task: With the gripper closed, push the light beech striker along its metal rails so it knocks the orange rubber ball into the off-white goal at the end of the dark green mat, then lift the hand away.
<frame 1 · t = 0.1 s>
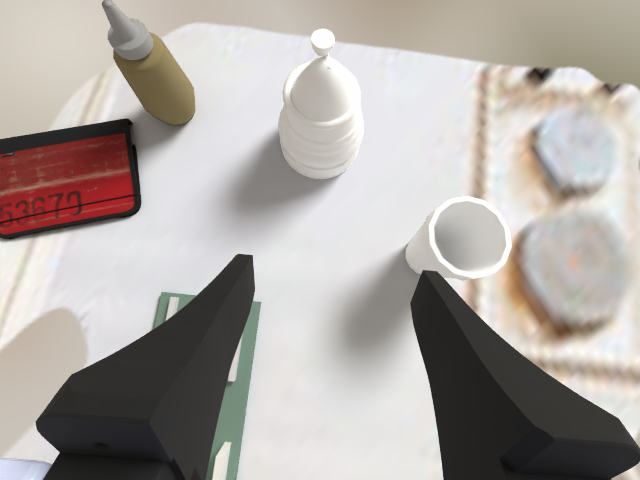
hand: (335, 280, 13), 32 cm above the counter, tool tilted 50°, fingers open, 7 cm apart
squeeze bottle: (178, 111, 50), on the counter
pitch mat: (196, 390, 41), on the counter
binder: (72, 181, 47), on the counter
honey pot: (319, 143, 50), on the counter
goal: (183, 465, 39), resting on pitch mat
foam cup: (424, 255, 46), on the counter
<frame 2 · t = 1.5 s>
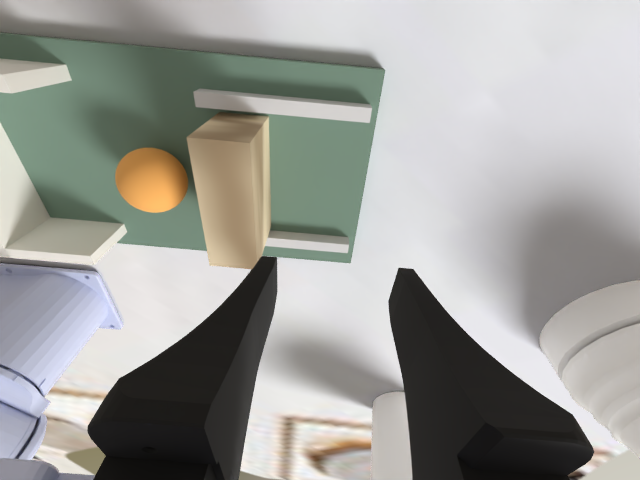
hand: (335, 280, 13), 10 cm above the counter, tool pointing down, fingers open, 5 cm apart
pitch mat: (187, 165, 21), on the counter
honey pot: (610, 325, 30), on the counter
goal: (58, 153, 21), resting on pitch mat
ball: (153, 180, 19), point 3 cm above the counter, touching pitch mat
foam cup: (396, 402, 40), on the counter
striker: (238, 192, 19), point 3 cm above the counter, slide at 0.0 cm, touching pitch mat
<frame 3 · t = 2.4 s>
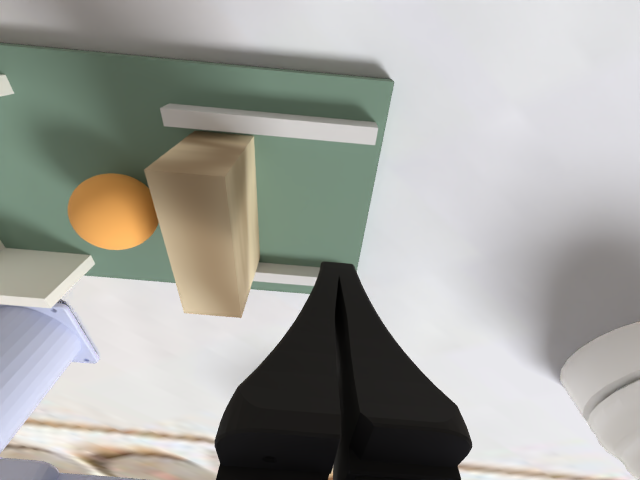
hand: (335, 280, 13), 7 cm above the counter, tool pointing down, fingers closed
pitch mat: (160, 189, 18), on the counter
honey pot: (639, 360, 27), on the counter
goal: (10, 176, 18), resting on pitch mat
ball: (117, 212, 16), point 3 cm above the counter, touching pitch mat
striker: (218, 226, 16), point 3 cm above the counter, slide at 0.0 cm, touching pitch mat
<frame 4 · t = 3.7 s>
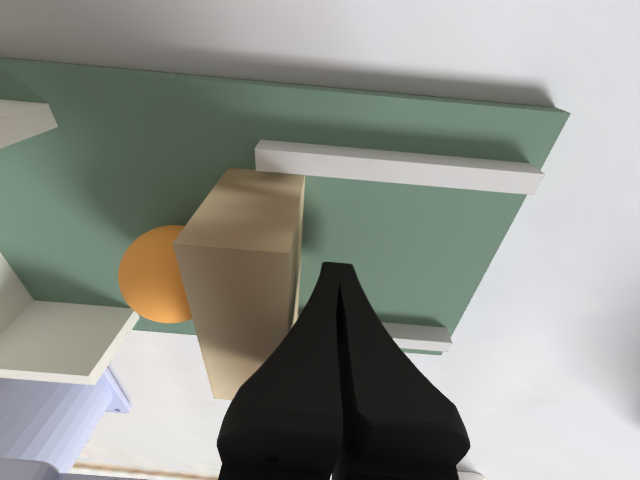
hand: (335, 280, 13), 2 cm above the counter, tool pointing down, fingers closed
pitch mat: (227, 236, 15), on the counter
goal: (43, 221, 15), resting on pitch mat
ball: (176, 273, 12), point 3 cm above the counter, tilted 7°, touching pitch mat
foam cup: (456, 479, 33), on the counter
striker: (258, 289, 12), point 3 cm above the counter, slide at 2.3 cm, touching gripper, pitch mat
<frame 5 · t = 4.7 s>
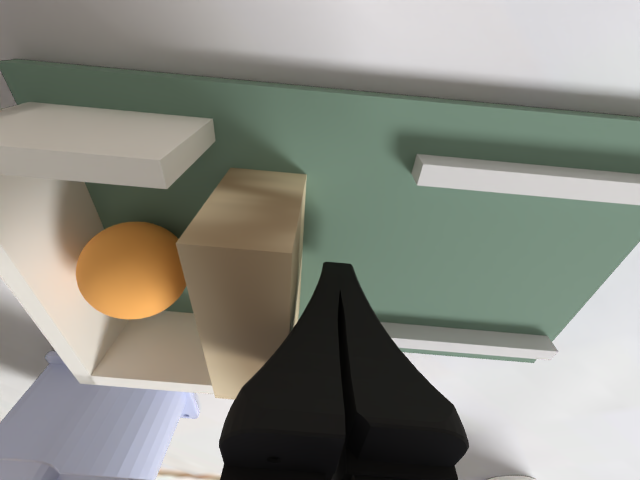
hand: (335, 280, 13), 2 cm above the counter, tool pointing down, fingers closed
pitch mat: (345, 247, 15), on the counter
goal: (162, 231, 15), resting on pitch mat
ball: (137, 269, 12), point 3 cm above the counter, tilted 141°, touching pitch mat
striker: (259, 288, 12), point 3 cm above the counter, slide at 8.0 cm, touching gripper, pitch mat
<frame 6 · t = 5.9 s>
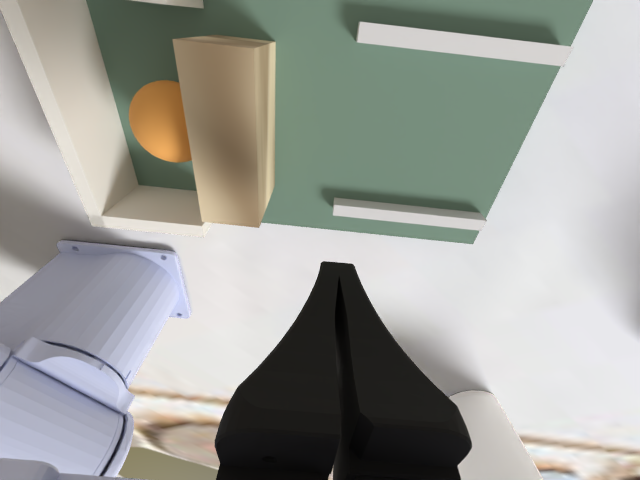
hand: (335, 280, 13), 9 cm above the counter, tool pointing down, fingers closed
pitch mat: (310, 123, 18), on the counter
goal: (161, 106, 18), resting on pitch mat
ball: (173, 123, 16), point 3 cm above the counter, tilted 170°, touching pitch mat
foam cup: (469, 401, 37), on the counter
striker: (238, 133, 15), point 3 cm above the counter, slide at 8.0 cm, touching pitch mat
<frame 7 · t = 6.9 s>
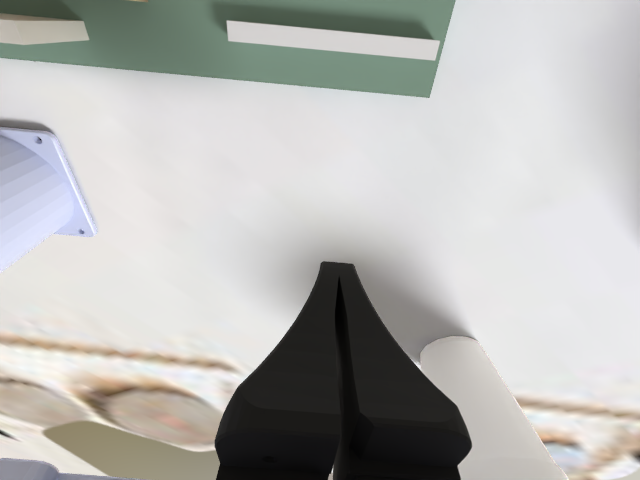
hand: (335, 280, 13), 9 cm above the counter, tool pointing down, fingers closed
foam cup: (450, 352, 31), on the counter
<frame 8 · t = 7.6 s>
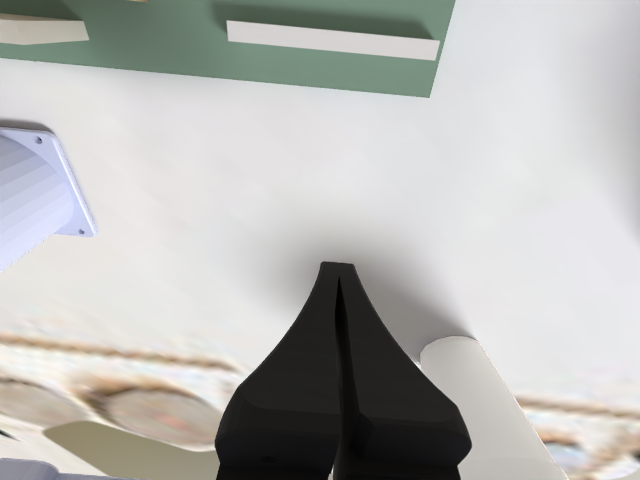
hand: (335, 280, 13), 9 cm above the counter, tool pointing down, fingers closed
foam cup: (450, 352, 31), on the counter
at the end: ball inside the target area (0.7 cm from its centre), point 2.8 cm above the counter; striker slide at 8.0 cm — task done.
